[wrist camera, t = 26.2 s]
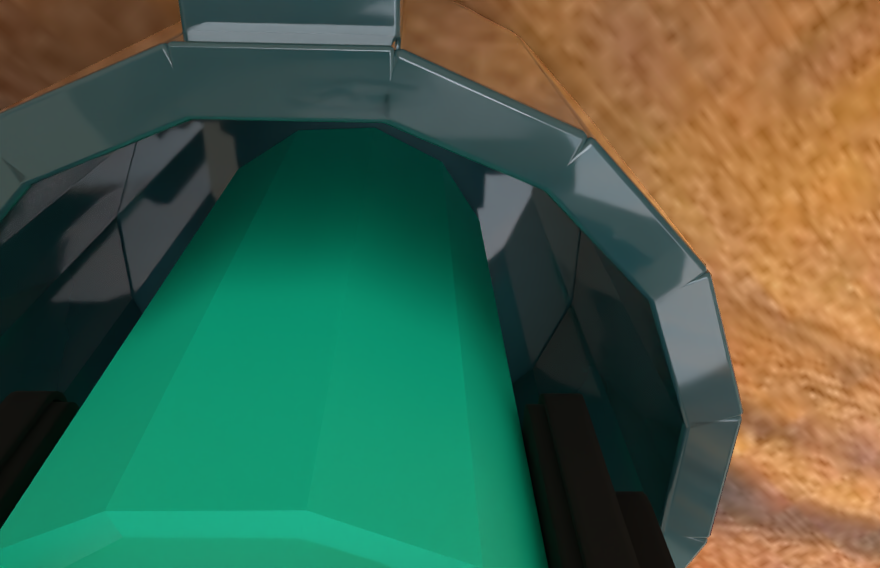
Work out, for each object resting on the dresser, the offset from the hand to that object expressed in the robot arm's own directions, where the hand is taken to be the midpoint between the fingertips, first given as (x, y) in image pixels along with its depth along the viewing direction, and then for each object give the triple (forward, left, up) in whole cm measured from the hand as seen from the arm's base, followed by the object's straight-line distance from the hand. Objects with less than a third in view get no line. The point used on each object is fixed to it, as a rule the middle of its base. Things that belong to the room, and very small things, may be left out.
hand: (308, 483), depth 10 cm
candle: (0, 0, -7) cm, 7 cm away
